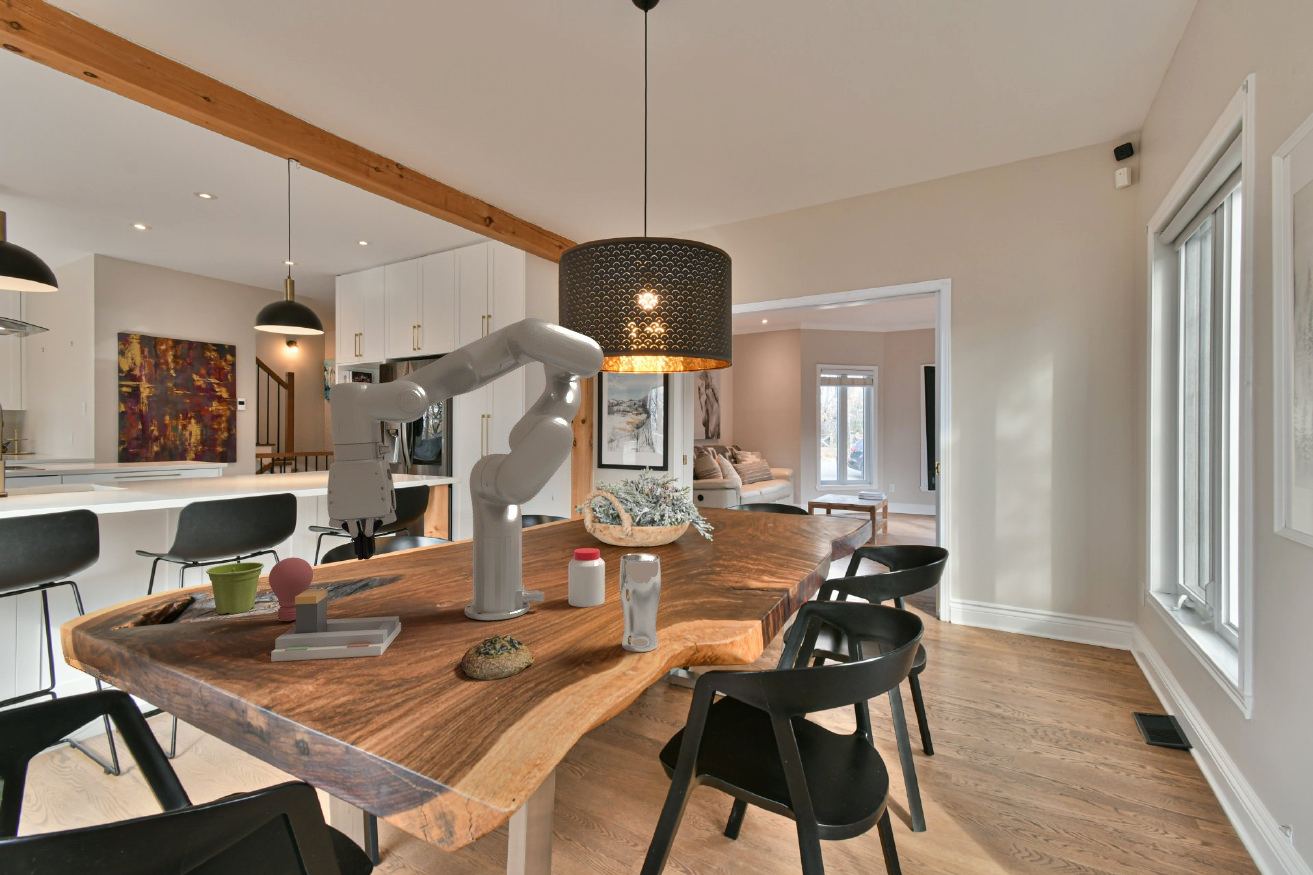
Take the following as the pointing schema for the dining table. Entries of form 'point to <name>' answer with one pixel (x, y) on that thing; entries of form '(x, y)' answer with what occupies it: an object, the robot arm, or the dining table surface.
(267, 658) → the dining table surface
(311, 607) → the breaker handle
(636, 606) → the beer glass
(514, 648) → the bread roll
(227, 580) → the plant pot
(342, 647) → the switch panel
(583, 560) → the pill bottle
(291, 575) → the light bulb
